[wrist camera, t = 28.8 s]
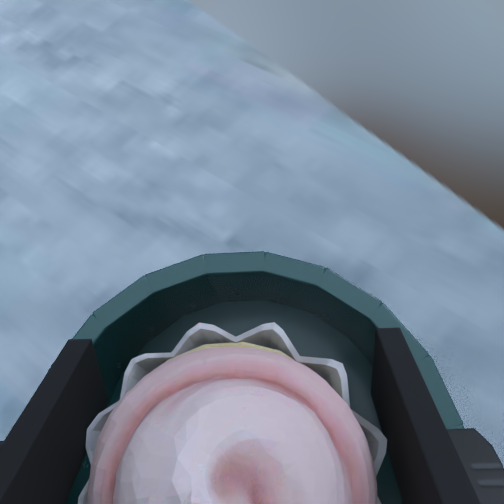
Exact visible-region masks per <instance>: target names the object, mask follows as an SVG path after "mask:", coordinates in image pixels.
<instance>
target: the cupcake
mask: <svg viewBox="0 0 504 504" xmlns="http://www.w3.org/2000/svg"><path fill="white" fill-rule="evenodd" d="M386 447H387V438H386V437H385V436H384V435H383V434H382V432H381V431H380V430H379V429H378V428H377V427H375V426H374V425H372V424H371V423H370V422H368V421H367V420H366V419H364V418H363V417H361V416H360V415H359V414H357V413H356V412H354V411H353V410H352V409H350V401H349V391H348V380H347V374H346V371H345V369H344V366H343V363H340V362H338V361H335V360H332V359H326V358H315V357H304V356H300V355H299V354H298V352H297V351H296V349H295V348H294V346H293V344H292V343H291V341H290V340H289V338H288V337H287V335H286V334H285V332H284V330H283V329H282V328H280V327H279V326H278V325H277V324H276V323H275V322H273V323H267V324H262V325H260V326H258V327H256V328H254V329H251V330H249V331H247V332H245V333H243V334H241V335H239V336H236V337H235V336H233V335H232V334H230V333H228V332H226V331H224V330H222V329H220V328H219V327H217V326H215V325H211V324H205V323H198V324H197V325H195V326H194V327H193V328H191V329H190V330H188V331H187V332H186V334H185V335H184V336H183V338H182V339H181V340H180V342H179V343H178V344H177V346H176V347H175V348H174V350H173V351H172V352H171V353H146V354H143V355H140V356H138V357H135V358H133V359H131V361H130V363H129V365H128V367H127V369H126V371H125V373H124V379H123V385H122V390H121V396H120V400H119V401H118V402H116V403H115V404H113V405H111V406H110V407H108V408H107V409H105V410H103V411H102V412H100V413H99V414H98V415H97V416H96V418H95V419H94V420H93V422H92V423H91V424H90V426H89V427H88V428H87V434H86V451H87V454H88V457H89V461H90V464H91V470H90V478H89V480H88V482H87V483H86V485H85V487H84V488H83V490H82V492H81V494H80V495H79V498H78V504H381V502H380V500H379V498H378V496H377V481H376V476H377V473H378V471H379V468H380V466H381V464H382V461H383V459H384V456H385V454H386Z"/></svg>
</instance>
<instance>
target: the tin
mask: <svg viewBox="0 0 504 504" xmlns="http://www.w3.org/2000/svg"><path fill="white" fill-rule="evenodd" d="M273 322H275V323H276V324H277V325H278V326H279V327H280V328H282V329H283V330H284V332H285V334H286V335H287V337H288V338H289V340H290V341H291V343H292V344H293V346H294V348H295V349H296V351H297V352H298V354H299V355H300V356H304V357H315V358H326V359H332V360H335V361H338V362H340V363H343V366H344V369H345V371H346V374H347V380H348V391H349V401H350V409H352V410H353V411H354V412H356V413H357V414H359V415H360V416H361V417H363V418H364V419H366V420H367V421H368V422H370V423H371V424H372V425H374V426H375V427H377V428H378V429H379V430H380V431H381V432H382V430H381V426H380V423H379V420H378V416H377V413H376V409H375V406H374V403H373V399H372V396H371V381H372V368H373V355H374V342H375V329H376V328H399V327H400V329H401V331H402V333H403V335H404V338H405V340H406V342H407V344H408V346H409V348H410V351H411V353H412V355H413V357H414V359H415V362H416V364H417V366H418V368H419V370H420V372H421V375H422V377H423V379H424V381H425V383H426V386H427V388H428V390H429V392H430V394H431V396H432V399H433V401H434V403H435V405H436V407H437V409H438V412H439V414H440V416H441V418H442V420H443V423H444V425H445V427H446V429H464V426H463V422H462V420H461V418H460V416H459V413H458V411H457V409H456V407H455V405H454V403H453V401H452V399H451V397H450V395H449V393H448V391H447V388H446V386H445V384H444V382H443V380H442V378H441V376H440V374H439V372H438V370H437V368H436V366H435V363H434V361H433V359H432V357H431V356H430V355H429V354H428V352H427V351H426V350H425V349H424V348H423V347H422V346H421V344H420V343H419V342H418V341H417V340H416V339H415V338H414V337H413V335H412V334H411V333H410V332H409V331H408V330H407V329H406V328H405V327H404V325H403V324H402V323H401V322H400V321H399V320H398V319H397V318H396V316H395V315H394V314H393V313H392V312H391V311H390V310H389V309H388V308H387V306H386V305H385V304H383V303H382V301H380V300H379V299H377V298H376V297H374V296H372V295H371V294H369V293H367V292H366V291H364V290H363V289H361V288H359V287H358V286H356V285H354V284H353V283H351V282H350V281H348V280H346V279H345V278H343V277H341V276H340V275H338V274H337V273H335V272H333V271H332V270H330V269H328V268H325V267H323V266H319V265H315V264H311V263H307V262H304V261H300V260H296V259H292V258H288V257H284V256H281V255H277V254H273V253H269V252H266V253H265V252H263V251H262V252H240V253H217V254H204V255H200V256H197V257H194V258H191V259H188V260H186V261H183V262H180V263H177V264H174V265H171V266H169V267H166V268H163V269H160V270H157V271H155V272H152V273H149V274H146V275H145V276H142V277H141V278H140V279H138V280H137V281H136V282H134V283H133V284H131V285H130V286H129V287H127V288H126V289H125V290H123V291H122V292H120V293H119V294H118V295H116V296H115V297H114V298H112V299H111V300H109V301H108V302H107V303H105V304H104V305H103V306H101V307H100V308H98V309H97V310H96V311H94V312H93V314H92V315H91V316H90V317H89V318H88V319H87V321H86V322H85V323H84V325H83V326H82V327H81V328H80V330H79V331H78V332H77V334H76V335H75V336H74V337H73V339H92V343H93V347H94V350H95V354H96V357H97V361H98V364H99V368H100V371H101V375H102V378H103V382H104V385H105V389H106V392H107V396H108V400H109V401H108V404H107V406H106V408H105V409H107V408H108V407H110V406H111V405H113V404H115V403H116V402H118V401H119V400H120V396H121V390H122V385H123V379H124V373H125V371H126V369H127V367H128V365H129V363H130V361H131V359H133V358H135V357H138V356H140V355H143V354H146V353H171V352H172V351H173V350H174V348H175V347H176V346H177V344H178V343H179V342H180V340H181V339H182V338H183V336H184V335H185V334H186V332H187V331H188V330H190V329H191V328H193V327H194V326H195V325H197V324H198V323H205V324H211V325H215V326H217V327H219V328H220V329H222V330H224V331H226V332H228V333H230V334H232V335H233V336H235V337H236V336H239V335H241V334H243V333H245V332H247V331H249V330H251V329H254V328H256V327H258V326H260V325H262V324H267V323H273ZM52 365H53V364H52ZM52 365H51V367H52ZM49 370H50V369H49ZM49 370H48V371H49ZM382 434H383V433H382ZM90 470H91V464H90V461H89V457H88V454H87V453H86V456H85V458H84V461H83V463H82V465H81V468H80V470H79V472H78V475H77V477H76V480H75V482H74V484H73V487H72V489H71V491H70V494H69V496H68V499H67V501H66V503H65V504H78V498H79V495H80V494H81V492H82V490H83V488H84V487H85V485H86V483H87V482H88V480H89V478H90ZM376 481H377V496H378V498H379V500H380V502H381V504H403V501H402V498H401V494H400V491H399V488H398V484H397V481H396V477H395V474H394V471H393V467H392V464H391V460H390V457H389V454H388V450H387V447H386V454H385V456H384V459H383V461H382V464H381V466H380V468H379V471H378V473H377V476H376Z"/></svg>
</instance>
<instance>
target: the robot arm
mask: <svg viewBox="0 0 504 504" xmlns="http://www.w3.org/2000/svg"><path fill="white" fill-rule="evenodd" d="M371 396H372V399H373V403H374V406H375V409H376V413H377V416H378V420H379V423H380V426H381V430H382V433H383V435H384V436H385V437H386V438H387V450H388V454H389V457H390V460H391V464H392V467H393V471H394V474H395V477H396V481H397V484H398V488H399V491H400V494H401V498H402V501H403V504H504V469H503V465H502V463H501V461H500V459H499V457H498V456H497V454H496V452H495V450H494V448H493V447H492V445H491V444H490V443H489V442H488V441H487V440H486V439H485V438H484V437H483V436H482V435H481V434H480V433H478V432H477V431H476V430H475V429H474V428H471V429H446V427H445V425H444V423H443V420H442V418H441V416H440V414H439V412H438V409H437V407H436V405H435V403H434V401H433V399H432V396H431V394H430V392H429V390H428V388H427V386H426V383H425V381H424V379H423V377H422V375H421V372H420V370H419V368H418V366H417V364H416V362H415V359H414V357H413V355H412V353H411V351H410V348H409V346H408V344H407V342H406V340H405V338H404V335H403V333H402V331H401V329H400V327H399V328H376V329H375V342H374V355H373V368H372V381H371ZM108 401H109V400H108V396H107V392H106V389H105V385H104V382H103V378H102V375H101V371H100V368H99V364H98V361H97V357H96V354H95V350H94V347H93V343H92V339H70V340H68V341H67V343H66V345H65V346H64V348H63V349H62V351H61V352H60V354H59V356H58V357H57V359H56V360H55V362H54V363H53V365H52V367H51V368H50V370H49V371H48V373H47V374H46V376H45V378H44V379H43V381H42V382H41V384H40V385H39V387H38V389H37V390H36V392H35V393H34V395H33V396H32V398H31V400H30V401H29V403H28V404H27V406H26V408H25V409H24V411H23V412H22V414H21V415H20V417H19V419H18V420H17V422H16V423H15V425H14V426H13V428H12V430H11V431H10V433H9V434H8V436H7V437H6V439H5V441H0V504H65V503H66V501H67V499H68V496H69V494H70V491H71V489H72V487H73V484H74V482H75V480H76V477H77V475H78V472H79V470H80V468H81V465H82V463H83V461H84V458H85V456H86V453H87V451H86V434H87V428H88V427H89V426H90V424H91V423H92V422H93V420H94V419H95V418H96V416H97V415H98V414H99V413H100V412H102V411H103V410H105V408H106V406H107V404H108Z"/></svg>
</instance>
